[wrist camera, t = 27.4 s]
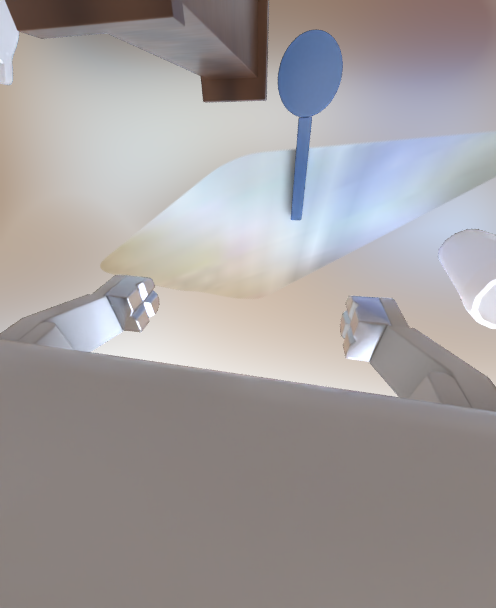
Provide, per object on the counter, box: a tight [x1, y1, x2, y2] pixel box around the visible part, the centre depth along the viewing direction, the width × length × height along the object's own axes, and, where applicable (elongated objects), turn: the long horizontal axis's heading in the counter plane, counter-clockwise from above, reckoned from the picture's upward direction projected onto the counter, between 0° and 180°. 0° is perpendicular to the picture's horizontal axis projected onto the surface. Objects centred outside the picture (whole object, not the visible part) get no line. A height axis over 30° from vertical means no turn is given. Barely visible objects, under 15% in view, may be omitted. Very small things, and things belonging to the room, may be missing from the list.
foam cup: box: [438, 229, 496, 329], centre depth 31 cm, size 10×9×13 cm
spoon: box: [278, 30, 343, 220], centre depth 31 cm, size 7×20×2 cm, turn 2°
